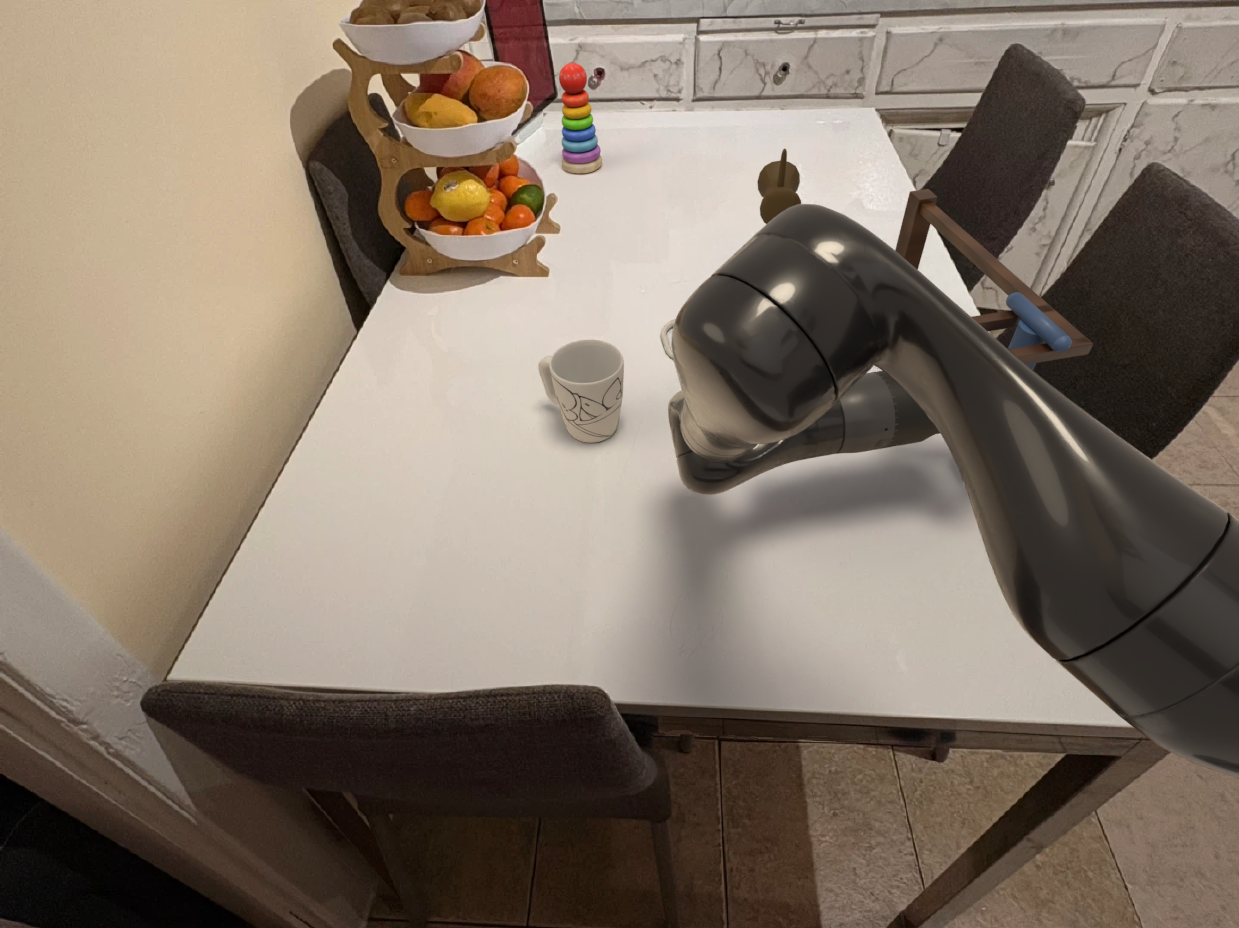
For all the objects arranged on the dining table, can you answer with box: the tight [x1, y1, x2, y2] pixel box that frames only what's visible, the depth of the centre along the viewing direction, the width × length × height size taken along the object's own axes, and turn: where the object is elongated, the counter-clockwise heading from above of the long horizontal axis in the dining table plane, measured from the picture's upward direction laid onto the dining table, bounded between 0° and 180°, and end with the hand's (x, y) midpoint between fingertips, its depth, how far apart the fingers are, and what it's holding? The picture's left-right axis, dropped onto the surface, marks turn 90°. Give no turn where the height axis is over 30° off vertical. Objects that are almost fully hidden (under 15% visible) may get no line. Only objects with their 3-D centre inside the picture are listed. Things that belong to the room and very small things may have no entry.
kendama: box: [757, 148, 802, 225], centre depth 103 cm, size 6×10×20 cm, turn 173°
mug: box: [537, 339, 625, 444], centre depth 86 cm, size 11×8×10 cm
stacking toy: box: [558, 62, 603, 174], centre depth 136 cm, size 8×8×19 cm
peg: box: [1005, 292, 1072, 371], centre depth 72 cm, size 4×9×17 cm, turn 11°
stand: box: [894, 188, 1094, 365], centre depth 84 cm, size 36×12×20 cm, turn 11°
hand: (1033, 384), depth 72 cm, fingers closed on peg, 3 cm apart
